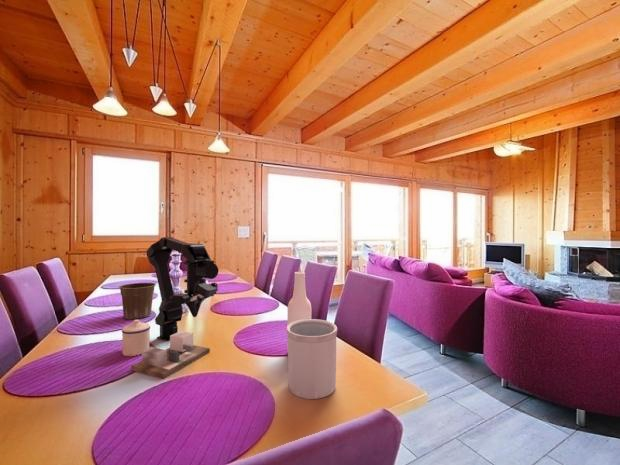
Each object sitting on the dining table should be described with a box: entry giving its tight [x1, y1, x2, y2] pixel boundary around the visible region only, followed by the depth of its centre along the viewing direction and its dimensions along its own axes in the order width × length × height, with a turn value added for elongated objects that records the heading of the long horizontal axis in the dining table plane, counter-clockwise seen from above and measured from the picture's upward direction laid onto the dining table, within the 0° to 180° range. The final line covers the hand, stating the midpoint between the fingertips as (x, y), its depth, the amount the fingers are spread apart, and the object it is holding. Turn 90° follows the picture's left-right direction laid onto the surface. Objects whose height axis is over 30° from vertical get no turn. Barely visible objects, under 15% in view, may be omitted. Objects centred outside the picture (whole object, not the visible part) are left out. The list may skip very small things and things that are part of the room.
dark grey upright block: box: [169, 350, 179, 362], centre depth 96 cm, size 3×1×3 cm, turn 69°
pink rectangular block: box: [169, 330, 195, 352], centre depth 106 cm, size 10×5×5 cm, turn 69°
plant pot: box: [118, 282, 156, 320], centre depth 150 cm, size 16×16×16 cm
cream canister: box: [121, 319, 151, 357], centre depth 108 cm, size 12×9×12 cm
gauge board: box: [130, 344, 211, 380], centre depth 100 cm, size 14×20×6 cm
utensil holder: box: [286, 318, 338, 400], centre depth 85 cm, size 15×15×18 cm
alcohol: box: [286, 271, 312, 353], centre depth 107 cm, size 9×9×30 cm
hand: (194, 316), depth 112 cm, fingers closed
